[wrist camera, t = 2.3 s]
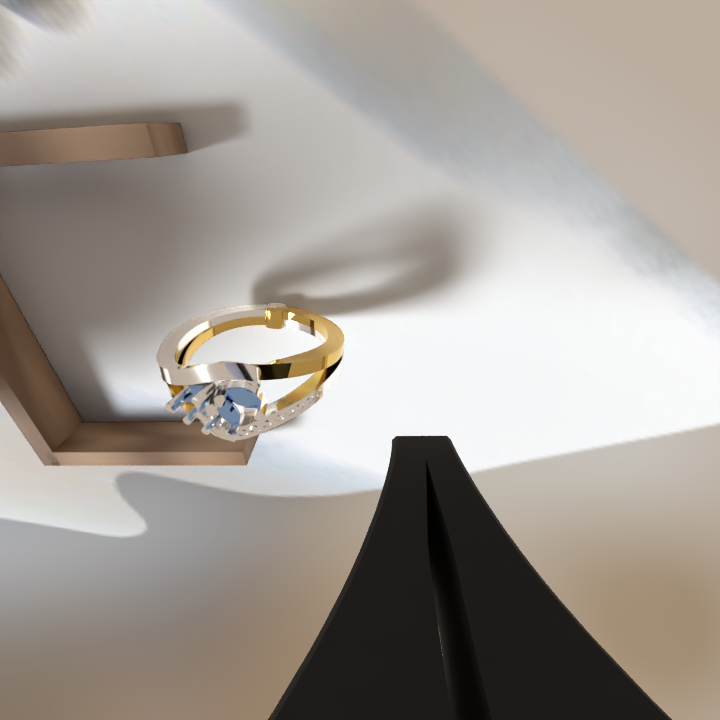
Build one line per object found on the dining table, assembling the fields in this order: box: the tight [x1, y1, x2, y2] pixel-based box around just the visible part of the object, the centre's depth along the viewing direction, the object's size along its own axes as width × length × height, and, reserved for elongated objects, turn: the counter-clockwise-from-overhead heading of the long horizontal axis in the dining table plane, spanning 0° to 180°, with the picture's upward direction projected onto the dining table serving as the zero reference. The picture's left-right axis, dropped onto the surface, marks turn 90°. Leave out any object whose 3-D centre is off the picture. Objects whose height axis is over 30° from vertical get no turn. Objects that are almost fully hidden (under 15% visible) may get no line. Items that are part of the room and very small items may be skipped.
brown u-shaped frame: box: [0, 123, 259, 465], centre depth 18 cm, size 12×16×2 cm
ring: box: [156, 303, 344, 442], centre depth 15 cm, size 7×3×8 cm, turn 85°
